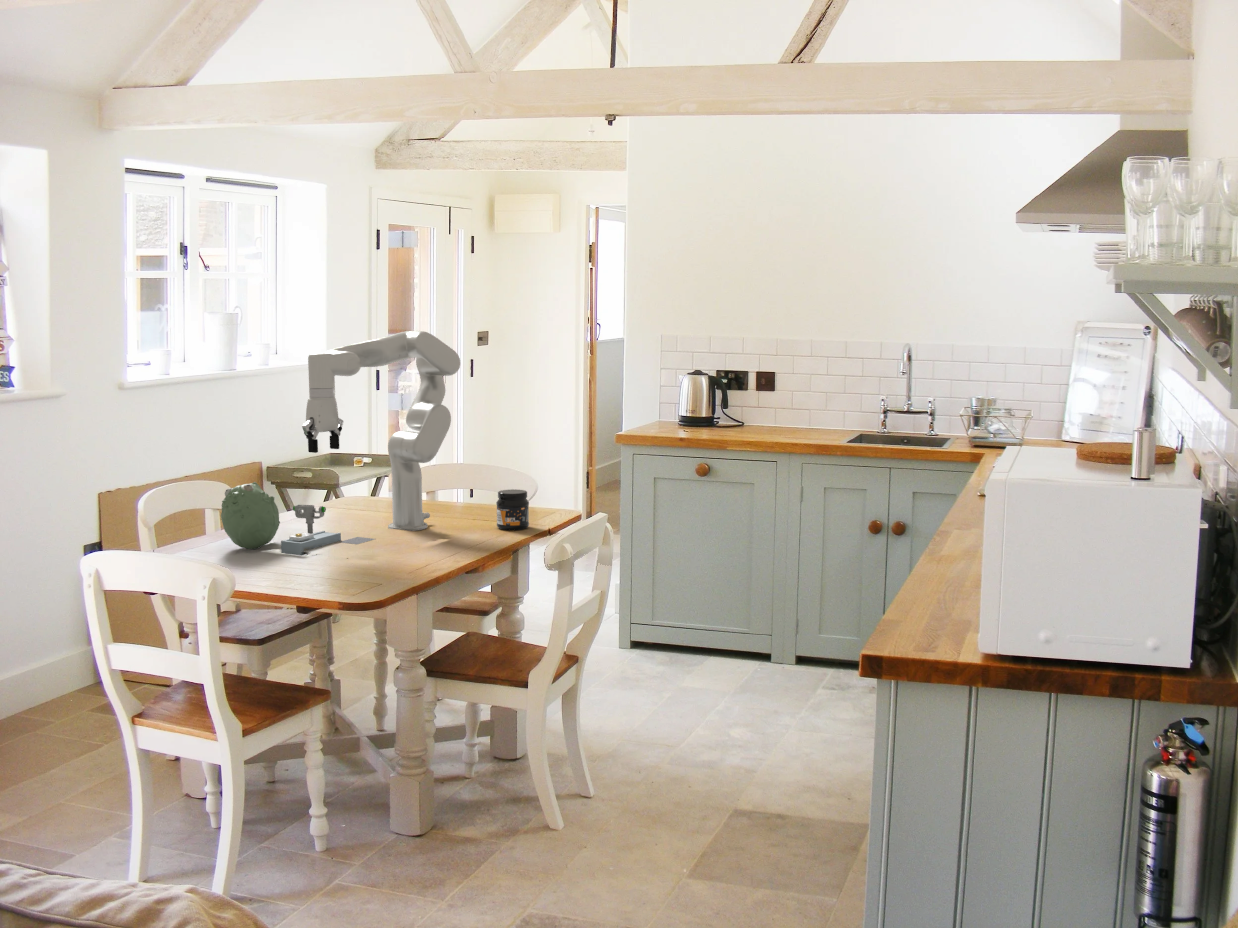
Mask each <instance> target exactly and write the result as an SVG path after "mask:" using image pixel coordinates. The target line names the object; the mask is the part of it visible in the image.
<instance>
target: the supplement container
mask: <svg viewBox="0 0 1238 928" xmlns="http://www.w3.org/2000/svg"><path fill="white" fill-rule="evenodd" d="M497 498H498V499H497V501H496V527H497V528H498V529H500V530H502V529H503V530H502V531H510V530H514V531H521V530H526V529H528V527H530V521H529V517H530V516H529V510H530V509H529V508H530V507H529V505H530V502H529V500H528V491H527V490H524V489H513V488H512V489H502V490H499V491H497Z"/></svg>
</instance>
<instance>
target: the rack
mask: <svg viewBox="0 0 1238 928" xmlns="http://www.w3.org/2000/svg"><path fill="white" fill-rule="evenodd" d="M313 534H314V539H312V540H309V541H305V542H293V541H289V538H287V539H283V540H281V541H280V548H281V550H280V551H281V552H280V553H281V554H285V555H294V556H304V555H308V554H310V552H306V551H308V550H313V549H316V548H319V547H322V546H326V545H329V544H333V543H337V542H341V541H342V540H341V537H342V533H341V532H336V533H335V532H329V531H325V530H322V531H317V532H313Z"/></svg>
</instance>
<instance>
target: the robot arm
mask: <svg viewBox="0 0 1238 928" xmlns="http://www.w3.org/2000/svg"><path fill="white" fill-rule="evenodd" d="M307 357H308V358H307V365H308V367H307V368H308V369H307V370H308V393H309V394H308V395H309V398H307V402H306V403H307V404H306V410H305V422H304V423H303V424H302V426H301V428H302V430H303V434H304V436H305V437H306V440H307V447H308V452H309V453H313V454H314V453H315V454H316V453H319V448H318V447H319V446H318V445H319V443H318V439H317V438H318V435H319V433H325V432H326V433H329V434H330V435H329V449H331V450H340V436H341V432H342V430H343V425H344V420H343V419H341V418H340V417H339V410H338V404H337V403H338V402H337V398H336V385H335V383H336V381H335V377H336V376H339V377H352V376H354V375H356V374H357V373H359V372H360V370H361V368H376V367H377V368H378V367H383V366H387V365H391V364H394V363H397V362H400V361H404V360H407V359H413V358H415V363H416V364H415V365H416V368H417V371H418V374H419V378H420V386H419V389H418V391H417V392H416V395H415V396H414V397H415V398H414V399H413V401H412V403H411V404H410V407H409V409H408V411H407V414H406V416H405V423H406V425H407V427H409V429H411V430H413V431H411V430H400V431H396V432H394V433H393V434H392V435H391V436H390V438H389V440H388V443H387V450H388V451H387V452H388V456H389V457H388V458H389V462H390V468H391V470H390V471H391V500H392V505H391V506H392V507H391V508H392V522H390V523H388V524H387V528H388V529H389V530H390V529H391V530H399V531H406V532H407V531H410V532H416V531H417V532H418V531H422V530H426V529H428V523H427V522H425V520H427V519H429V518H430V517H431V514H430V512H423V486H422V485H423V483H422V482H423V479H422V478H423V475H422V469H421V466H420V464H426V463H430V462H431V461H433V460H434V459H435V457H436V455H437V454H438V452H439V450H440V448H441V446H442V444H443V442H444V440H445V438H446V437H447V434H448V432H449V429H450V427H451V422H452V416H451V412H450V409H449V408H448V407H447V406H445V405H444V404H443V401H444V398H445V396H446V385H445V380H444V377H449V376H453V375H455V374H456V373H458V371H459V370H460V368H461V358H460V356H459V354H458V353H457V352H456V350H454V349H453V348H452V347H450V346H449V345H447V344H446V343H444V342H443V341H442V340H440V339H439V338H438V337H436V336H435V335H433V334H432V333H430V332H427V331H420V330H406V331H401V332H397V333H394V334H391V335H387V336H384V337H380V338H376V339H372V340H366V341H362V342H358V343H352V344H348V345H343V346H339V347H336V348H332V349H329V350H326V351H324V352H312V353H310V354H309V355H308V356H307Z"/></svg>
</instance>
